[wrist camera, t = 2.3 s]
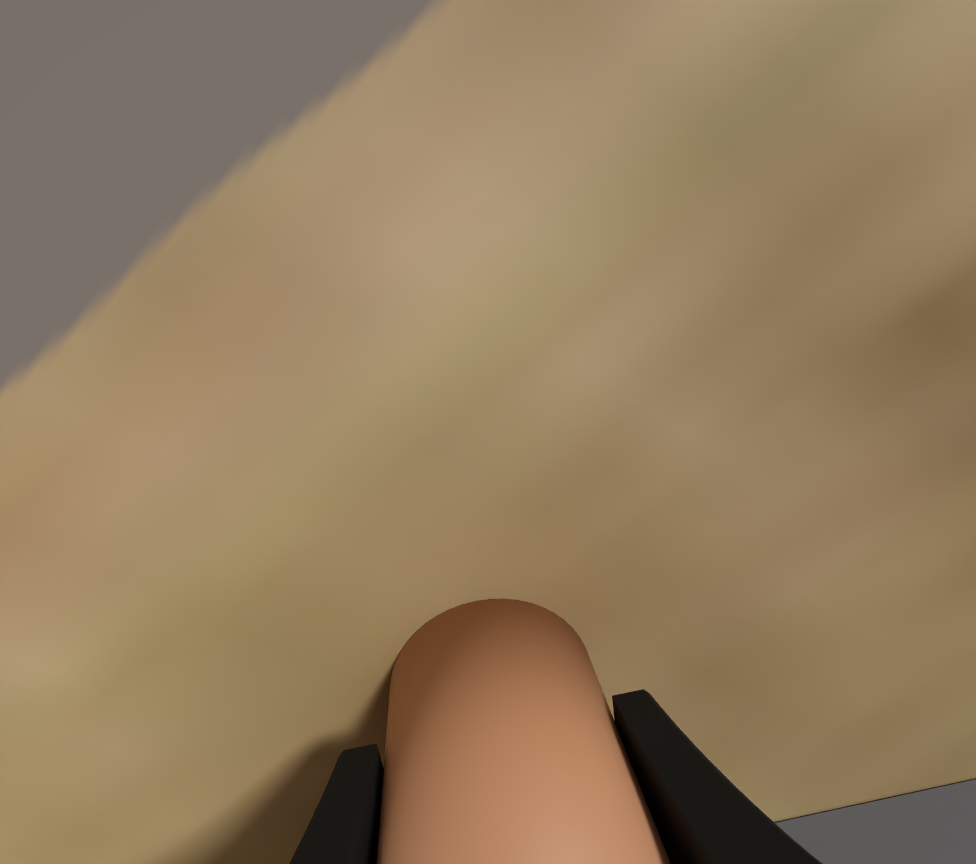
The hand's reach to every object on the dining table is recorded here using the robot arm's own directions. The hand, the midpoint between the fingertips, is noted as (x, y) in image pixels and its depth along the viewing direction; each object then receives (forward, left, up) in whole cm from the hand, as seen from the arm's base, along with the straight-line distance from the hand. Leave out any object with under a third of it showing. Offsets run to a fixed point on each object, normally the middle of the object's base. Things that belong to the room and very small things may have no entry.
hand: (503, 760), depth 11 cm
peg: (0, 0, -2) cm, 2 cm away
